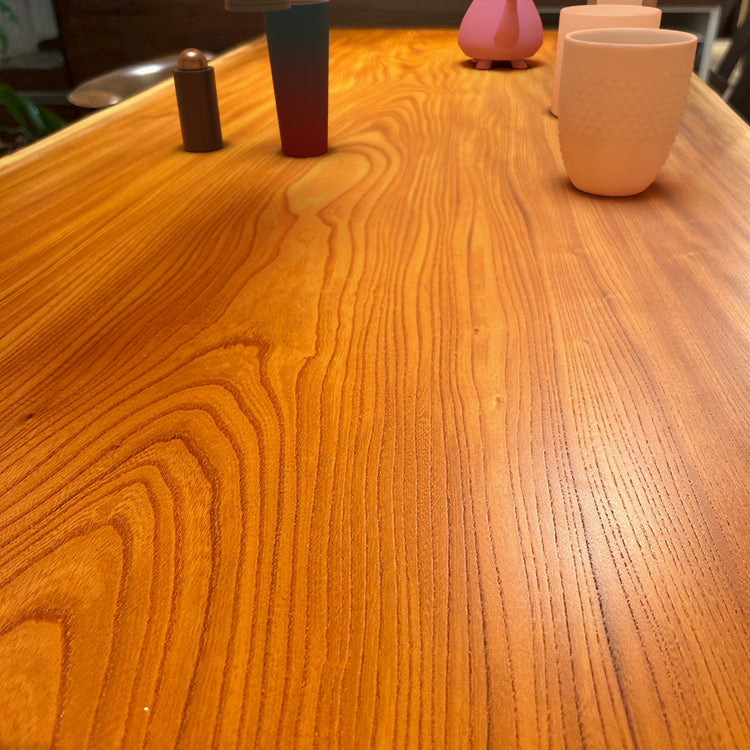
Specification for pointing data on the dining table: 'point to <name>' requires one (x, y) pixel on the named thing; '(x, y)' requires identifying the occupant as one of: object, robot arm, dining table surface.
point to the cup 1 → (300, 74)
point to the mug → (621, 105)
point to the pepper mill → (197, 102)
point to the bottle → (257, 5)
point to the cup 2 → (598, 19)
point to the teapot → (500, 32)
